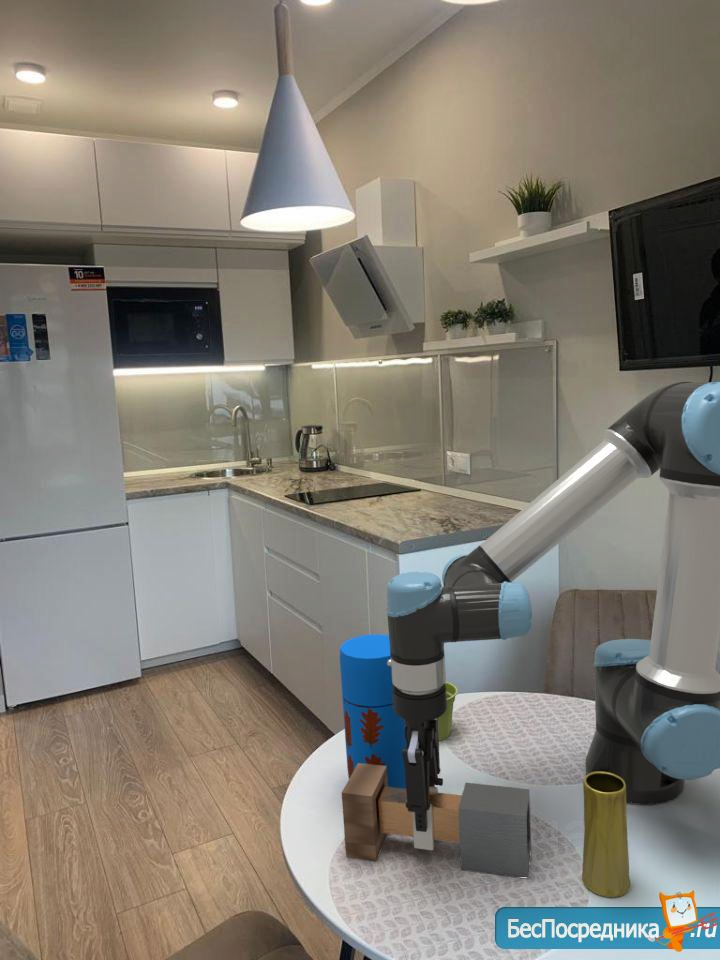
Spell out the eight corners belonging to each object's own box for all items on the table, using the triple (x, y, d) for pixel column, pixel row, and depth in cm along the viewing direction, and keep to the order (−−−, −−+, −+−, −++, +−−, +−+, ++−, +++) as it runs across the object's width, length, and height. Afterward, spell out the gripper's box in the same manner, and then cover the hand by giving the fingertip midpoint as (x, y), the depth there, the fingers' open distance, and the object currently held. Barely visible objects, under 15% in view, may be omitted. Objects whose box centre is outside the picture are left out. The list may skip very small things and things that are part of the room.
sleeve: (531, 848, 103) (529, 789, 102) (527, 879, 97) (525, 816, 96) (468, 840, 106) (465, 782, 105) (461, 869, 100) (458, 808, 99)
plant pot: (402, 727, 141) (400, 685, 140) (447, 717, 144) (445, 676, 142) (420, 750, 132) (418, 705, 131) (467, 739, 135) (465, 695, 134)
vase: (592, 860, 100) (590, 764, 98) (637, 877, 96) (636, 778, 94) (574, 885, 96) (572, 785, 94) (621, 905, 92) (619, 801, 90)
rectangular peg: (507, 832, 103) (506, 800, 102) (504, 849, 99) (503, 815, 98) (386, 817, 108) (384, 786, 107) (380, 832, 104) (378, 800, 104)
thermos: (409, 810, 114) (400, 659, 111) (343, 806, 116) (332, 658, 113) (417, 773, 125) (409, 634, 121) (356, 769, 127) (347, 633, 123)
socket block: (390, 826, 110) (386, 766, 109) (376, 861, 103) (371, 796, 101) (362, 823, 112) (358, 762, 110) (346, 856, 104) (341, 792, 103)
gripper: (406, 659, 110) (414, 801, 113) (376, 709, 94) (387, 873, 98) (455, 661, 108) (462, 806, 111) (433, 713, 92) (442, 881, 95)
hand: (427, 837), depth 104 cm, fingers closed on rectangular peg, 4 cm apart
